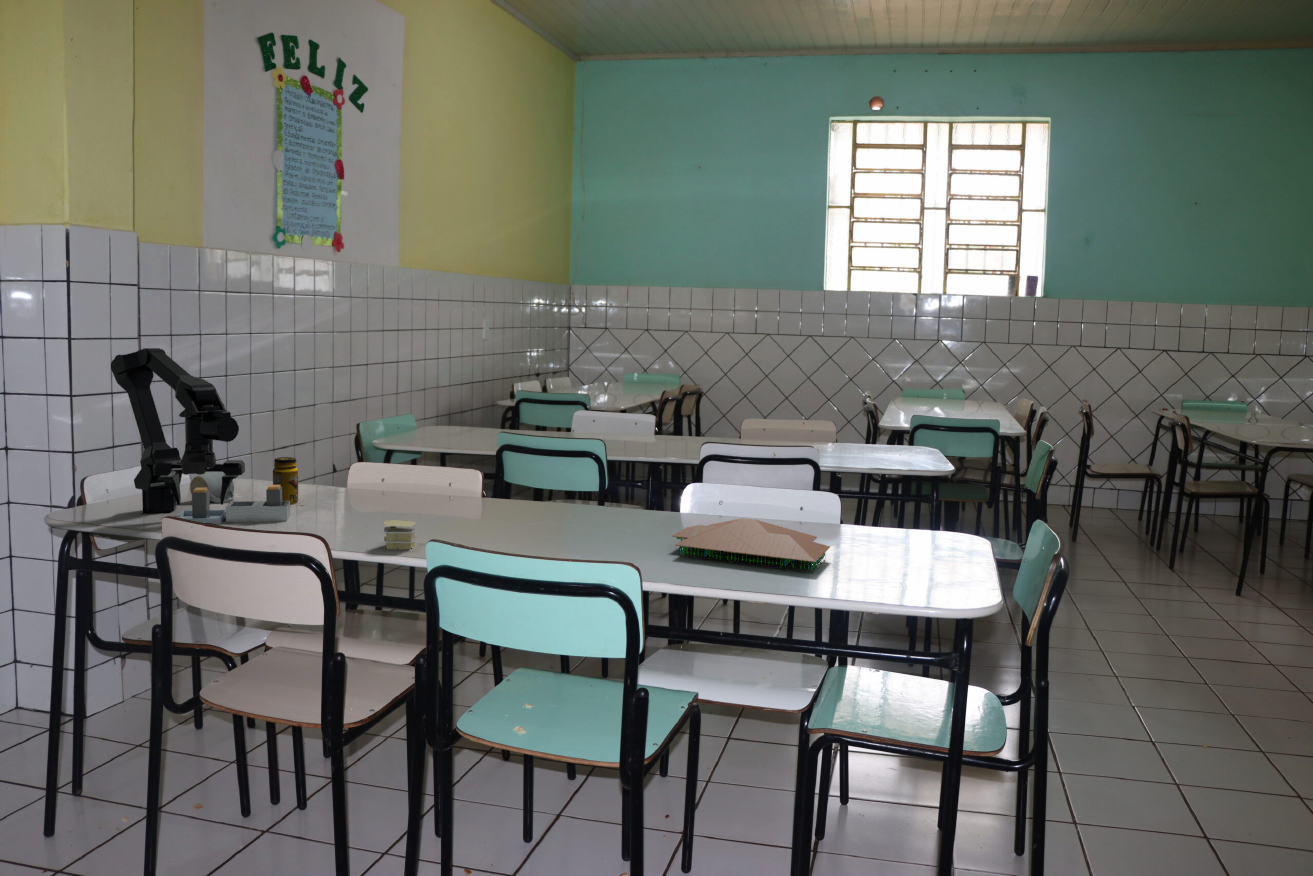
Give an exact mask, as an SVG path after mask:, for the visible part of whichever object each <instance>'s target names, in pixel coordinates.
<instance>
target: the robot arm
mask: <svg viewBox="0 0 1313 876" xmlns="http://www.w3.org/2000/svg"><path fill="white" fill-rule="evenodd" d="M110 370H111V372H112V375H113V377H114V379H115V381H116V383H117V385H118V386H120V387H121V388H122V389H123V390H124V391H125V392H126V393H127V397H128V400H129V402H130V405H131V408H132V409H131V410H132V413H133V415H134V416H133V417H134V419H135V422H136V427H137V429H138V432H139V436H140V439H141V443H142V446H143V452H142V455H141V458H140V462H139V463H140V467H141V468H140V469H139V471H138V473H137V475H136V476H135V477H134V479H133V482H134V487H135V489H138V490H141V498H142V499H141V500H142V511H141V512H140V515H145V514H146V515H149V514H151V515H154V514H158V515H159V514H161V515H162V514H172V512H175V510H177V507H178V506H181V503H182V502H181V498H182V497H181V487H180V486H181V481H182V478H183V475H185V476H187V475H197V476H199V475H202V474H206V473H211V472H223V473H225V475H223V476H222V488H221V498H220V500H221V503H220V505H224V504H225V503H224V500H225V497H226V495H227V492H228V489H229V486H230V484H231V482H232V480H233V481H234V480H236V479H237V478H238V476H242V475H243V474H244V473H245V472H246V464H245V461H243V459H239V460H237V459H231V460H229V459H228V460H225V461H224V462H223V463H217V457H216V454H215V452H214V441H217V442H218V441H220V442H225V443H226V442H227V443H229V442H232V441H234V440H235V439H236V438H237V436H238V435H239V431H240V427H239V425H238V422H237V420H236V419H235V418H233V417H232V416H231V415H232V412H231V411H227V409H226V407H225V406H226V405H225V404H224V402H223V401H222V399H221V397H220V395H219V393H218V391H217V389H216V387H215V385H214V384H213V383H211V382H209V381H208V380H206V379H203V378H200V377H196V376H193V375H191V374H190V373H189V372H187V370H186V369H184V368H183V367H182V366H180V365H179V364H178V363H177V362H176V361H174V360H173V358H171V357H170V356H169V355H168V354H166V351H165V350H164V349H163V348H160V347H158V348H157V347H151V348H150V347H148V348H147V347H146V348H142V349H139V350H136V351H133V352H130V353H129V352H128V353H126V354H117V355H115V357H114V358H113V359H112V360H111V362H110ZM155 375H156V376H157V377H158V378H160V379H161V380H162V381H163V382H164V383H166V384H167V386H169V387H170V388H172V389H173V390H174V398H175V399H176V400H177V402H178V403H180V405H181V406H182V408H184V409H183V410H182V411H181V412H180V413H179V414H178V415H179V417H180V418H184V427H185V428H184V432H185V434H184V435H185V443H184V452H183V455H182V457H181V455H180V450H179V449H178V447H171V446H170V445H169V444H168V443H167V441H166V437H165V433H164V430H163V427H162V424H161V420H160V416H159V414H158V411H157V406H156V404H155V400H154V396H153V394H152V390H151V385H152V382H153V380H154V376H155Z"/></svg>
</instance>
